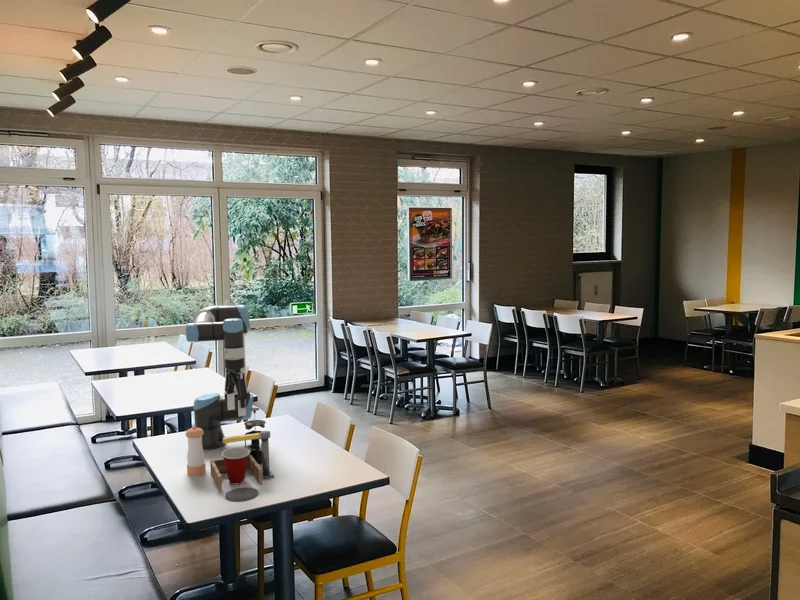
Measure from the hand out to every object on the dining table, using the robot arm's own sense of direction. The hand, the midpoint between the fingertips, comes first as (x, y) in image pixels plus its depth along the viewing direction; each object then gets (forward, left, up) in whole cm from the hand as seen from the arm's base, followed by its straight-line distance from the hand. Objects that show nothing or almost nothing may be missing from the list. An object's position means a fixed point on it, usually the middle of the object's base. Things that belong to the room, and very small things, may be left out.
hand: (236, 412), depth 257 cm
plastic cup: (+5, -2, -26) cm, 27 cm away
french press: (-16, +10, -26) cm, 32 cm away
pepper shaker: (-13, -15, -26) cm, 33 cm away
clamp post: (+5, +10, -26) cm, 28 cm away
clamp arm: (+5, +3, -10) cm, 11 cm away
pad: (+20, -3, -26) cm, 33 cm away
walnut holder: (+4, -2, -26) cm, 26 cm away
